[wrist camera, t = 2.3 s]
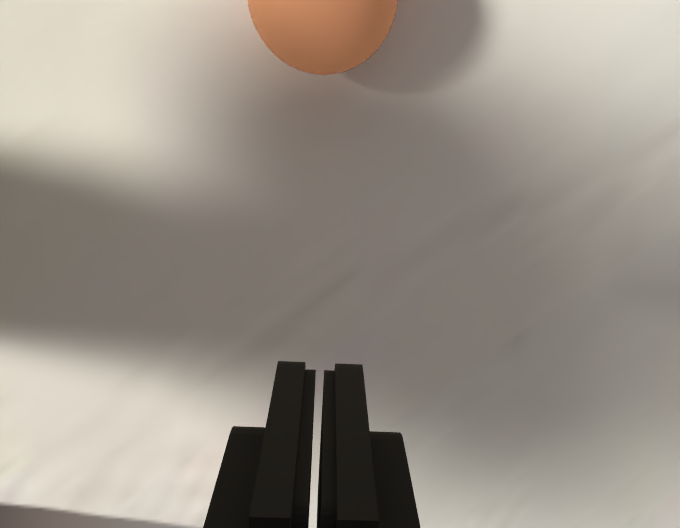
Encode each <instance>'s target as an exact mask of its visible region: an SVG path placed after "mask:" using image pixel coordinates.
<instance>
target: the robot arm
mask: <svg viewBox="0 0 680 528" xmlns="http://www.w3.org/2000/svg"><path fill="white" fill-rule="evenodd" d="M315 373H316V370H305V362H286V361H278V365H277V370H276V375H275V381H274V386H273V391H272V397H271V402H270V407H269V413H268V418H267V423H266V428H263V427H237V426H234V427H233V428H232V429H231V432H230V435H229V439H228V442H227V446H226V449H225V453H224V456H223V460H222V464H221V467H220V471H219V474H218V478H217V481H216V485H215V488H214V492H213V495H212V499H211V502H210V506H209V509H208V513H207V516H206V520H205V523H204V527H203V528H308V522H309V503H310V483H311V461H312V439H313V417H314V395H315ZM317 528H420V523H419V518H418V513H417V508H416V503H415V498H414V493H413V487H412V482H411V477H410V472H409V467H408V462H407V457H406V452H405V447H404V441H403V437H402V434H401V433H397V432H371V431H369V423H368V413H367V404H366V394H365V385H364V375H363V366H362V365H358V364H335V371H328V370H324V385H323V405H322V424H321V443H320V463H319V482H318V508H317Z"/></svg>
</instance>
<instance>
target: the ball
mask: <svg viewBox="0 0 680 528" xmlns="http://www.w3.org/2000/svg"><path fill="white" fill-rule="evenodd" d="M397 4H398V0H248V6H249V10H250V14H251V17H252V20H253V23H254V25H255V28H256V29H257V31H258V33H259V35H260V37H261V38H262V40H263V41H264V43H265V44H266V46H267V47H268V48H269V49H270V50H271V51H272V52H273V53H274V54H275V55H276V56H277V57H278V58H279V59H281V60H282V61H283V62H285V63H287V64H288V65H290V66H292V67H294V68H296V69H298V70H301V71H304V72H307V73H313V74H325V75H326V74H336V73H340V72H344V71H346V70H349V69H352V68H354V67H356V66H357V65H359V64H361V63H362V62H364V61H365V60H366V59H368V58H369V57H370V56H371V55H372V54H373V53H374V52H375V51H376V50H377V49H378V48H379V46H380V45H381V44H382V43H383V41H384V39H385V38H386V36H387V34H388V32H389V30H390V28H391V26H392V23H393V20H394V17H395V14H396V9H397Z"/></svg>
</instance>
